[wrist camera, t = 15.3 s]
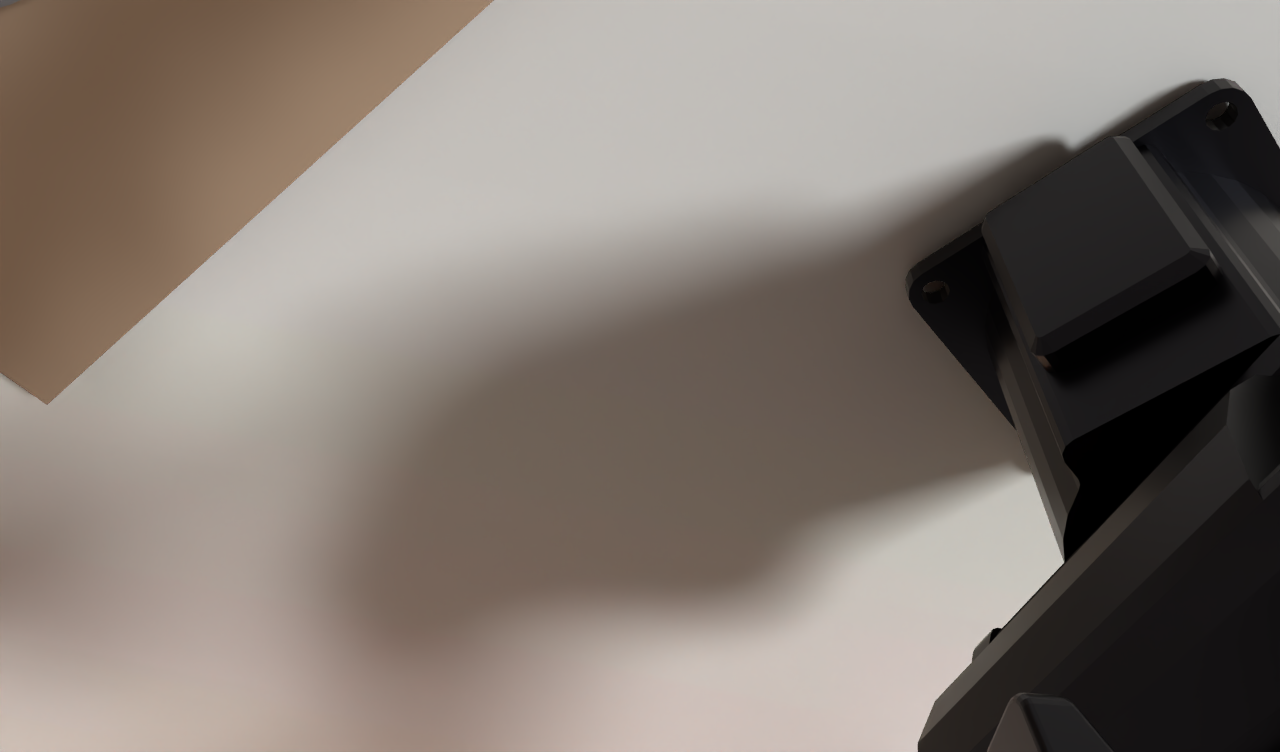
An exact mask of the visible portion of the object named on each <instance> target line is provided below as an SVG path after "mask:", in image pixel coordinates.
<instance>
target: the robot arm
mask: <svg viewBox="0 0 1280 752" xmlns="http://www.w3.org/2000/svg"><path fill="white" fill-rule="evenodd" d="M1222 102H1229V106H1228V108H1227V110H1226V112H1225V113H1224V114H1223V115H1222V116H1221V117H1220V118H1217V119H1214V120H1212V121H1209V120H1206V119H1205V118H1206V116H1207V114H1208V111H1209V110H1210V109H1211V108H1212V107H1213V106H1215V105H1216V104H1219V103H1222ZM933 281H943V282H944V283H945V284H944V286H943V287H942V288H941V289H940V290H938V291H935V292H925V291H924V290H923V288H924V287H925V286H926V285H927V284H928V283H930V282H933ZM906 290H907V294H908V297H909V300H910V302H911V304H912V306H913V307H914V309H915V310H916V311H917V312H918V313H919V315H920V316H921V317H922V318H923V319H924V321H925V322H926V323H927V324H928V325H929V327H930V328H931V329H932V330H933V331H934V332H935V334H936V335H937V336H938V337H939V338H940V340H941V341H942V342H943V343H944V344H945V346H946V347H947V348H948V349H949V350H950V352H951V353H952V354H953V355H954V356H955V358H956V359H957V360H958V361H959V362H960V364H961V365H962V366H963V367H964V368H965V370H966V371H967V372H968V373H969V374H970V376H971V377H972V378H973V379H974V380H975V381H976V383H977V384H978V385H979V386H980V387H981V389H982V390H983V391H984V392H985V393H986V395H987V396H988V397H989V398H990V399H991V401H992V402H993V403H994V404H995V405H996V407H997V408H998V409H999V410H1000V411H1001V413H1002V414H1003V415H1004V416H1005V417H1006V419H1007V420H1008V421H1009V422H1010V423H1011V424H1012V426H1013V427H1014V428H1015V429H1016V430H1017V432H1018V435H1019V438H1020V441H1021V444H1022V446H1023V449H1024V452H1025V455H1026V457H1027V460H1028V463H1029V466H1030V469H1031V471H1032V474H1033V477H1034V480H1035V482H1036V485H1037V488H1038V491H1039V494H1040V496H1041V499H1042V502H1043V505H1044V507H1045V510H1046V513H1047V516H1048V519H1049V521H1050V524H1051V527H1052V530H1053V532H1054V535H1055V538H1056V541H1057V544H1058V546H1059V549H1060V552H1061V555H1062V557H1063V560H1064V564H1063V565H1062V566H1061V567H1060V568H1059V569H1058V570H1057V571H1056V572H1055V573H1054V574H1053V575H1052V576H1051V577H1050V578H1049V579H1048V580H1047V582H1046V583H1045V584H1044V585H1043V586H1042V587H1041V588H1040V589H1039V590H1038V591H1037V592H1036V593H1035V594H1034V595H1033V596H1032V597H1031V598H1030V599H1029V601H1028V602H1027V603H1026V604H1025V605H1024V606H1023V607H1022V608H1021V609H1020V610H1019V611H1018V612H1017V613H1016V614H1015V615H1014V616H1013V617H1012V619H1011V620H1010V621H1009V622H1008V623H1007V624H1006V625H1005V626H1004V627H1003V628H1002V629H1001V628H995V629H993V630H992V631H991V632H990V633H989V634H988V635H987V636H986V637H985V638H984V639H983V640H982V641H981V642H980V643H979V645H978V646H977V647H976V648H975V650H974V652H973V658H972V663H971V664H970V665H969V666H968V667H967V668H966V669H965V670H964V671H963V672H962V673H961V674H960V675H959V677H958V678H957V679H956V680H955V681H954V682H953V683H952V684H951V685H950V686H949V687H948V688H947V689H946V690H945V691H944V692H943V693H942V694H941V695H940V697H939V698H938V699H937V700H936V701H935V703H934V705H933V707H932V710H931V712H930V715H929V717H928V720H927V722H926V724H925V727H924V729H923V732H922V734H921V737H920V739H919V741H918V752H1280V148H1279V146H1278V145H1277V143H1276V141H1275V139H1274V138H1273V136H1272V134H1271V132H1270V131H1269V129H1268V127H1267V125H1266V123H1265V122H1264V120H1263V118H1262V116H1261V115H1260V113H1259V111H1258V109H1257V108H1256V106H1255V104H1254V102H1253V100H1252V99H1251V97H1250V96H1249V95H1248V94H1247V93H1246V92H1245V91H1244V90H1243V89H1242V88H1241V87H1240V86H1239V85H1238V84H1237V83H1236V82H1235V81H1231V80H1228V79H1225V78H1223V79H1213V80H1210V81H1208V82H1205V83H1203V84H1201V85H1199V86H1198V87H1196V88H1194V89H1193V90H1191V91H1190V92H1188V93H1186V94H1185V95H1183V96H1182V97H1180V98H1179V99H1177V100H1175V101H1174V102H1172V103H1171V104H1169V105H1167V106H1166V107H1164V108H1163V109H1161V110H1160V111H1158V112H1156V113H1155V114H1153V115H1152V116H1150V117H1148V118H1147V119H1145V120H1144V121H1142V122H1141V123H1139V124H1137V125H1136V126H1134V127H1133V128H1131V129H1129V130H1128V131H1126V132H1125V133H1123V134H1122V135H1120V136H1111V137H1107V138H1105V139H1104V140H1102V141H1101V142H1099V143H1098V144H1096V145H1094V146H1093V147H1091V148H1090V149H1088V150H1087V151H1085V152H1083V153H1082V154H1080V155H1079V156H1077V157H1076V158H1074V159H1072V160H1071V161H1069V162H1068V163H1066V164H1064V165H1063V166H1061V167H1060V168H1058V169H1057V170H1055V171H1053V172H1052V173H1050V174H1049V175H1047V176H1046V177H1044V178H1042V179H1041V180H1039V181H1038V182H1036V183H1035V184H1033V185H1031V186H1030V187H1028V188H1027V189H1025V190H1024V191H1022V192H1020V193H1019V194H1017V195H1016V196H1014V197H1012V198H1011V199H1009V200H1008V201H1006V202H1005V203H1003V204H1001V205H1000V206H998V207H997V208H995V209H994V210H992V211H990V212H989V213H988V214H987V215H986V217H985V219H984V222H982V223H981V224H979V225H978V226H976V227H974V228H973V229H971V230H970V231H968V232H967V233H965V234H963V235H962V236H960V237H959V238H957V239H955V240H954V241H952V242H951V243H949V244H948V245H946V246H944V247H943V248H941V249H940V250H938V251H936V252H935V253H933V254H932V255H930V256H929V257H927V258H925V259H924V260H922V261H921V262H919V263H918V264H916V265H915V266H914V267H913V268H912V269H911V270H910V271H909V273H908V275H907V277H906Z"/></svg>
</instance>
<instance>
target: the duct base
mask: <svg viewBox="0 0 1280 752" xmlns="http://www.w3.org/2000/svg"><path fill="white" fill-rule="evenodd" d="M492 1H493V0H0V372H1V373H2V374H4V375H5V376H6V377H8V378H9V379H11V380H12V381H14V382H15V383H16V384H18V385H19V386H21V387H22V388H24V389H25V390H26V391H28V392H29V393H31V394H32V395H34V396H35V397H37V398H38V399H39V400H41V401H42V402H44V403H45V404H48V403H50V402H51V401H52V400H53V399H54V398H55V397H56V396H57V395H58V394H59V393H61V392H62V391H63V390H64V389H65V388H66V387H67V386H68V385H69V384H71V383H72V382H73V381H74V380H75V379H76V378H77V377H78V376H79V375H80V374H82V373H83V372H84V371H85V370H86V369H87V368H88V367H89V366H90V365H92V364H93V363H94V362H95V361H96V360H97V359H98V358H99V357H100V356H101V355H103V354H104V353H105V352H106V351H107V350H108V349H109V348H110V347H111V346H112V345H114V344H115V343H116V342H117V341H118V340H119V339H120V338H121V337H122V336H124V335H125V334H126V333H127V332H128V331H129V330H130V329H131V328H132V327H133V326H135V325H136V324H137V323H138V322H139V321H140V320H141V319H142V318H143V317H145V316H146V315H147V314H148V313H149V312H150V311H151V310H152V309H153V308H154V307H156V306H157V305H158V304H159V303H160V302H161V301H162V300H163V299H164V298H165V297H167V296H168V295H169V294H170V293H171V292H172V291H173V290H174V289H175V288H177V287H178V286H179V285H180V284H181V283H182V282H183V281H184V280H185V279H186V278H188V277H189V276H190V275H191V274H192V273H193V272H194V271H195V270H196V269H198V268H199V267H200V266H201V265H202V264H203V263H204V262H205V261H206V260H207V259H209V258H210V257H211V256H212V255H213V254H214V253H215V252H216V251H217V250H218V249H220V248H221V247H222V246H223V245H224V244H225V243H226V242H227V241H228V240H230V239H231V238H232V237H233V236H234V235H235V234H236V233H237V232H238V231H239V230H241V229H242V228H243V227H244V226H245V225H246V224H247V223H248V222H249V221H251V220H252V219H253V218H254V217H255V216H256V215H257V214H258V213H259V212H260V211H262V210H263V209H264V208H265V207H266V206H267V205H268V204H269V203H270V202H271V201H273V200H274V199H275V198H276V197H277V196H278V195H279V194H280V193H281V192H283V191H284V190H285V189H286V188H287V187H288V186H289V185H290V184H291V183H292V182H294V181H295V180H296V179H297V178H298V177H299V176H300V175H301V174H302V173H304V172H305V171H306V170H307V169H308V168H309V167H310V166H311V165H312V164H313V163H315V162H316V161H317V160H318V159H319V158H320V157H321V156H322V155H323V154H325V153H326V152H327V151H328V150H329V149H330V148H331V147H332V146H333V145H334V144H336V143H337V142H338V141H339V140H340V139H341V138H342V137H343V136H344V135H345V134H347V133H348V132H349V131H350V130H351V129H352V128H353V127H354V126H355V125H357V124H358V123H359V122H360V121H361V120H362V119H363V118H364V117H365V116H366V115H368V114H369V113H370V112H371V111H372V110H373V109H374V108H375V107H376V106H378V105H379V104H380V103H381V102H382V101H383V100H384V99H385V98H386V97H387V96H389V95H390V94H391V93H392V92H393V91H394V90H395V89H396V88H397V87H398V86H400V85H401V84H402V83H403V82H404V81H405V80H406V79H407V78H408V77H410V76H411V75H412V74H413V73H414V72H415V71H416V70H417V69H418V68H419V67H421V66H422V65H423V64H424V63H425V62H426V61H427V60H428V59H429V58H431V57H432V56H433V55H434V54H435V53H436V52H437V51H438V50H439V49H440V48H442V47H443V46H444V45H445V44H446V43H447V42H448V41H449V40H450V39H451V38H453V37H454V36H455V35H456V34H457V33H458V32H459V31H460V30H461V29H463V28H464V27H465V26H466V25H467V24H468V23H469V22H470V21H471V20H472V19H474V18H475V17H476V16H477V15H478V14H479V13H480V12H481V11H482V10H484V9H485V8H486V7H487V6H488V5H489V4H490V3H491V2H492Z"/></svg>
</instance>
